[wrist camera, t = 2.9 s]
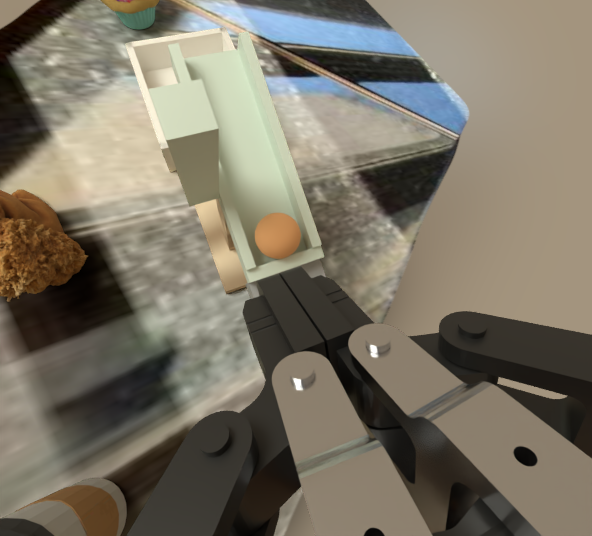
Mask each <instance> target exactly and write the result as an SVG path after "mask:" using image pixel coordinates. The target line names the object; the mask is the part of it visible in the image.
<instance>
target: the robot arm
mask: <svg viewBox="0 0 592 536" xmlns="http://www.w3.org/2000/svg"><path fill="white" fill-rule="evenodd" d="M256 285H257V289H258V292H259V296H258V297H256V298H253V299H250V300H247V301H245V305H244V309H243V315H244V319H245V322H246V325H247V328H248V331H249V335H250V338H251V341H252V344H253V347H254V350H255V353H256V356H257V358H258V361H259V363H260V366H261V369H262V371H263V374H264V377H265V379H266V382H265V385H264V388H263V390H262V392H261V393H260V395H259V396H258V398H257V399H256V400H255V401H254V402H253V403H252V404H250V405H249V406H248V407H247V408H245V409H244V410H243V411H242V412H240V413H237V412H234V411H220V412H216V413H213V414H211V415H209V416H207V417H205V418H203V419H202V420H201V421H199V422H198V423H197V424H196V425H195V426H194V427H193V428H192V429H191V430H190V432H189V433H188V434H187V436H186V438H185V439H184V441H183V443H182V444H181V446H180V448H179V449H178V451H177V453H176V454H175V456H174V458H173V459H172V461H171V463H170V464H169V466H168V468H167V469H166V471H165V473H164V474H163V476H162V478H161V479H160V481H159V482H158V484H157V486H156V487H155V489H154V491H153V492H152V494H151V496H150V497H149V499H148V501H147V502H146V504H145V506H144V507H143V509H142V511H141V512H140V514H139V516H138V517H137V519H136V521H135V522H134V524H133V526H132V527H131V529H130V531H129V532H128V534H127V536H273V535H274V532H275V528H276V525H277V522H278V518H279V510H280V507H281V506H282V505H283V504H284V503H285V502H286V501H287V500H288V499H289V498H290V497H291V496H292V495H293V494H294V493H295V492H296V491H297V490H298V489H299V488H300V487H302V490H303V494H304V497H305V500H306V504H307V508H308V511H309V515H310V518H311V521H312V525H313V528H314V532H315V536H592V335H590V334H584V333H580V332H574V331H569V330H564V329H559V328H554V327H549V326H543V325H538V324H533V323H528V322H523V321H518V320H512V319H507V318H502V317H496V316H492V315H487V314H481V313H476V312H467V311H463V312H455V313H452V314H449V315H447V316H446V317H444V318H443V319H442V320H441V323H440V325H439V333H435V334H427V335H419V336H407V335H405V334H404V333H403V332H402V331H400V330H399V329H397V328H395V327H393V326H391V325H387V324H381V323H374V322H373V321H372V320H371V319H370V318H369V317H368V316H367V315H366V314H365V313H364V312H363V311H362V310H361V309H360V308H359V307H358V306H357V305H356V304H355V302H354V301H353V300H352V299H351V298H349V296H348V295H347V294H346V293H345V292H344V291H342V289H341V288H340V287H339V286H338V285H337V284H336V283H335V281H334V280H331V279H329V278H326V277H324V276H322V275H319V276H316V277H314V278H311V277H310V276H309V275H308V273H307V272H306V271H305V270H304V269H303V268H302V267H301V266H299V267H296V268H293V269H290V270H287V271H284V272H281V273H279V274H275V275H272V276H269V277H266V278H263V279H260V280H257V281H256ZM498 377H501V378H505V379H509V380H513V381H516V382H520V383H524V384H527V385H531V386H534V387H538V388H542V389H546V390H549V391H553V392H556V393H560V394H563V395H567V397H566V398H563V399H549V398H546V397H542V396H539V395H535V394H531V393H528V392H525V391H521V390H517V389H514V388H510V387H507V386H503V385H500V384H497V382H498Z"/></svg>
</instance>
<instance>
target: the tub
mask: <svg viewBox="0 0 592 536" xmlns="http://www.w3.org/2000/svg"><path fill="white" fill-rule="evenodd" d="M176 43H178V44H179V47H180V49H181V52H182V55H183V58H190V57H196V56H201V55H207V54H213V53H218V52H224V51H230V50H235V47H234V45H233V43H232V41H231V39H230V36H229V34H228V32H227V30H226V27H223V28H217V29H211V30H204V31H198V32H192V33H185V34H179V35H173V36H167V37H160V38H154V39H148V40H141V41H135V42H129V43H125V45H126V48H127V51H128V54H129V57H130V60H131V63H132V66H133V68H134V71H135V74H136V77H137V80H138V83H139V86H140V89H141V92H142V95H143V98H144V101H145V104H146V106H147V109H148V112H149V115H150V118H151V121H152V124H153V127H154V130H155V133H156V136H157V139H158V142H159V144H160V147H161V150H162V153H163V155H164V158H165V160H166V163H167V166H168V168H169V171H170V172H173V171H177V170H176V167H175V164H174V161H173V158H172V156H171V153H170V150H169V147H168V144H167V142H166V139H165V136H164V133H163V130H162V127H161V124H160V122H159V119H158V116H157V113H156V110H155V107H154V104H153V102H152V99H151V96H150V93H149V90H148V89H152V88H157V87H162V86H167V85H172V84H178V82H177V80H176V77H175V74H174V71H173V68H172V63H171V58H170V53H169V49H168V45H170V44H176Z"/></svg>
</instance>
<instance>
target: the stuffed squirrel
mask: <svg viewBox="0 0 592 536" xmlns="http://www.w3.org/2000/svg"><path fill="white" fill-rule="evenodd" d="M84 254H85V253H84V250H82V249H81V247H80V245H79V244H78V243H77V242H75V241H74V240H72V239H71V238H69V237H68V236H67V234H64V231H63V228H62V226H61V224H60V222H59V220H58V217H57V214H56V212H55V211H54V210H53V209H52V208H50V207H49V206H48V205H47V204H46V203H44V202H43V201H42V200H40V199H39V198H38V197H36V196H35V195H33V194H31V193H29V192H27V191H25V190H17V191H16V192H14V193H13V194H12V195H10V194H8V193H6V192H4V191H1V190H0V296H7V302H9V301H10V299H11V298H12V296H13V298H15V297H16V296H17V298H18V299H19V296H20V295H21V293H22V292H25V291H26V292H27V293H28V294H29V293H32V294H34V293H35V294H37V293H39V292H41V291H43V290H44V289H45V288H46V287H47V286H48V285H53V286H54V285H57V286H58V285H62V284H64V283H66V282H67V281H68V280H69V279H71V277H72V275H74V274H76V273H78V272H79V271H80V270H81V267H82V266H83V265H84V264H85V260H86V258H87V257H88V256H87V255H84Z"/></svg>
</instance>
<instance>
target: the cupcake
mask: <svg viewBox="0 0 592 536" xmlns="http://www.w3.org/2000/svg"><path fill="white" fill-rule="evenodd" d="M101 1H102V2H103V3H104V4H105V5H107V6H108V7H109V8H110V9H111V10H113V11H115V13H116V14H117V15H118V17H119V18H120V20H121V21H122V22H123V24H124V25H126V26H127V27H129V28H132V29H138V30H139V29H145V28H148V27H150V26H151V25H152V24H153V23H154V21H155V6H156V5H157V4H158V2H159V1H160V0H101Z"/></svg>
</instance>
